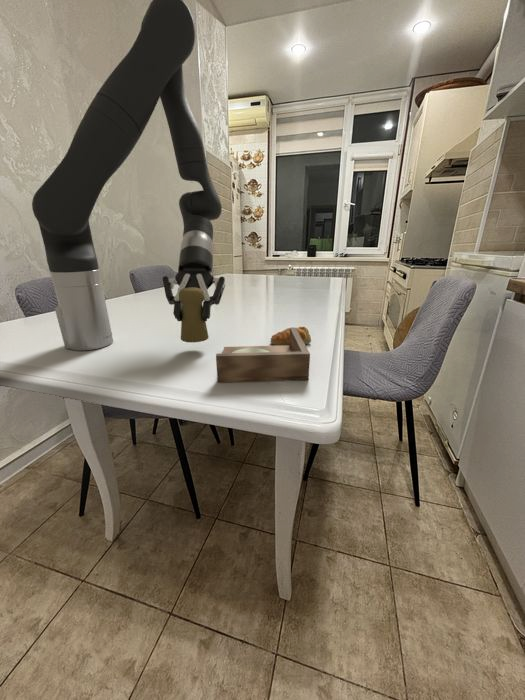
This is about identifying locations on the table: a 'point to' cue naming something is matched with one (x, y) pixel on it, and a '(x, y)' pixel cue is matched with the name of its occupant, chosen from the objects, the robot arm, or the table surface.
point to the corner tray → (264, 362)
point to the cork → (192, 315)
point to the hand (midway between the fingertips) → (191, 319)
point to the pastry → (284, 336)
